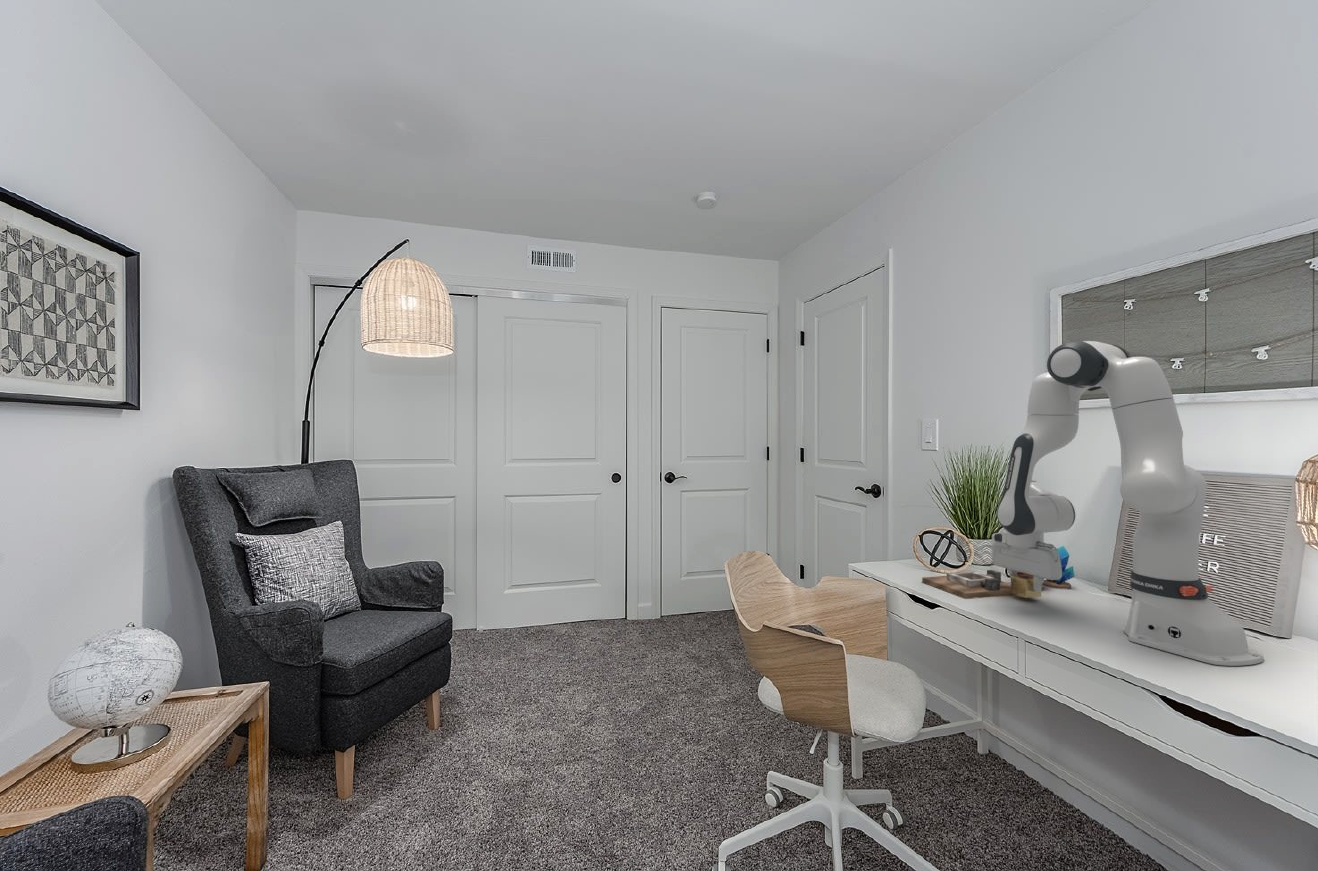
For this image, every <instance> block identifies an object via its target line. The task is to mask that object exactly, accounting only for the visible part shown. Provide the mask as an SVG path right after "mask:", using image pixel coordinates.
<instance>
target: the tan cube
mask: <svg viewBox="0 0 1318 871" xmlns="http://www.w3.org/2000/svg"><path fill="white" fill-rule="evenodd" d="M1034 582H1035V580H1034V576H1031V575H1027V574H1022V575H1011V577H1010V584H1011V593H1012V594H1015V596H1016V595H1017V596H1018V597H1022V598H1025V599H1027V598H1041V597H1042V591H1041V592H1037V593H1036V592H1033V591H1031V585H1033V584H1034Z"/></svg>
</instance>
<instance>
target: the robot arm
mask: <svg viewBox="0 0 1318 871" xmlns="http://www.w3.org/2000/svg"><path fill="white" fill-rule="evenodd" d="M1046 369H1047V372H1043V373H1040V374H1039V375H1038V376H1036V377H1035V378H1034V379H1033V381H1032V383H1031V388H1030V391H1029V396H1028V403H1027V412H1026V413H1027V414H1026V415H1027V416H1026V423H1025V426H1024V428H1023V431H1022V433H1021V434H1020V435H1019V436H1018V437H1016V439H1015V441H1014V442H1013V445H1012V449H1011V451H1010V456H1009V463H1008V468H1007V472H1006V477H1005V481H1004V487H1003V491H1002V495H1001V498H1000V501H999V503H998V506H997V509H996V518H997V522H998V523H999V524H1000V526H1001V527H1002V528H1003V529H1004V530H1003V531H1001V532H996V533H995V532H994V533H993V534H992V535H991V539H992V541H993V542H992V546H991V561H992V563H993V565H994V566H996V567H1000V568H1004V569H1007V573H1008V575H1009V577H1010V578H1011V575H1017V573H1018V572H1022V573H1025V574H1029V575H1033V576H1034V580H1035V582H1034V584H1033V585H1031V591H1033V592H1036V593H1037V592H1041V593H1042V586H1043V584H1042V583H1043V582H1044V580H1046V579H1048V580H1058V579H1060V578H1061V577H1062V567H1061V561H1060V557H1059V551H1058V550H1057V548H1058V547H1056V546H1055V545H1054V544H1052V543H1046V542H1045V539H1044V534H1045V533H1057V532H1059V533H1060V532H1063V531H1064V532H1065V531H1068V530H1070V529H1071V527H1073V525H1074V524H1075V521H1076V509H1075V506H1074V505H1073V503H1072V502H1071V501H1070V500H1069V499H1068V498H1067V497H1065V496H1062V495H1058V494H1057V493H1056V494H1055V493H1054V492H1052V491H1050V490H1047V489H1046V488H1044V487H1043V485H1042V483H1040V482H1039V481H1037V480H1032V479H1033V473H1034V471H1035V470H1034V469H1035V466H1036V464H1037V463H1038V462H1039V461H1040V460H1041V459H1043V458H1044V457H1045V456H1047V455H1049V454H1050V453H1053V452H1056V451H1058V450H1060V449H1062V448H1064V447H1066V446H1068V445H1069V444H1070V443H1071V442H1072V441H1073V440H1074V439H1075V438H1076V436H1077V433H1078V429H1079V424H1080V423H1079V420H1080V419H1079V417H1080V416H1079V414H1080V400H1081V396H1082V395H1083V394H1084V393H1085V392H1086V391H1089V392H1094V391H1096V390H1101V389H1103V390H1104V391H1105V392H1106V394H1107V396H1108V399H1109V403H1110V407H1111V412H1112V416H1113V420H1114V423H1115V427H1116V431H1117V435H1118V439H1119V444H1120V464H1121V465H1120V466H1121V484H1120V488H1119V490H1120V491H1119V492H1120V495H1121V498H1122V500H1123V501H1124V502H1125V504H1126V505H1128V507H1130V508H1131V509H1133V510H1135V511H1137V512H1139V516H1138V520H1137V523H1136V524H1137V525H1136V528H1135V531H1134V534H1133V535H1132V570H1131V571H1130V582H1129V583H1130V584H1129V586H1130V589H1131V603H1130V608H1129V613H1128V618H1127V620H1126V625H1125V627H1124V629H1123V632H1124V634H1126V635H1127V636H1128V641H1130V642H1132V643H1136V644H1138V645H1143V646H1147V647H1151V648H1153V649H1156V650H1160V651H1164V652H1166V653H1167V652H1168V653H1172V654H1175V655H1178V656H1181V657H1186V658H1187V659H1188V658H1189V659H1192V660H1197V661H1200V662H1204V663H1207V664H1209V665H1210V664H1211V665H1216V666H1230V667H1231V666H1232V667H1233V666H1234V667H1236V666H1237V667H1238V666H1240V667H1241V666H1249V665H1256V664H1260V663H1263V662H1264V660H1265V659H1264V654H1263V653H1261V652H1258V651H1256V650H1254V649H1250V648H1249V646H1248V639H1247V636H1246V632H1245V629H1244V627H1243V626H1242V624H1241V623H1240V622H1238V621H1236V620H1235V618H1233V617H1231V616H1230V615H1229V614H1227V612H1225V611H1224V610H1223V609H1221V607H1219V605H1217V604H1215V603H1214V602H1213V601H1212V600H1211V599H1209V593H1208V592H1214V590H1213V589H1212V588H1214V585H1205V584H1204V583H1203V581H1202V579H1201V578H1200V577H1199V576H1200V575H1199V574H1200V573H1199V572H1200V571H1199V570H1200V566H1199V565H1200V563H1199V562H1200V561H1199V560H1200V557H1199V556H1200V554H1199V553H1200V552H1199V550H1200V548H1199V547H1200V537H1201V531H1202V526H1203V520H1204V514H1205V504H1206V496H1207V492H1208V483H1207V481H1206V479H1205V477H1204V475H1202V474H1201V473H1200V471H1197V469H1195V468H1193V467H1191V466H1189V465H1187V464H1184V454H1183V453H1184V452H1183V450H1184V449H1183V437H1184V431H1183V428H1182V424H1181V420H1180V415H1179V413H1178V410H1177V406H1176V401H1175V399H1174V396H1173V392H1172V389H1171V386H1170V384H1169V381H1168V380H1167V377H1166V376H1165V373H1164V371H1163V369H1162V368H1161V366H1160V364H1159V363H1158V361H1157V360H1155V359H1153V358H1150V357H1146V356H1131V354H1130V353H1129V351H1127V350H1126V349H1125V348H1123V347H1121V346H1119V345H1117V344H1114V343H1104V342H1102V341H1101V342H1100V341H1095V340H1094V341H1093V340H1083V341H1082V340H1081V341H1080V340H1074V341H1068V342H1066V343H1065V342H1064V343H1063V344H1060V345H1059V346H1057V347H1055V348H1054V349H1053V350H1052V351H1051V352H1050V354H1049V355H1048V358H1047V362H1046Z"/></svg>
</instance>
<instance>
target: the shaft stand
mask: <svg viewBox="0 0 1318 871" xmlns="http://www.w3.org/2000/svg"><path fill="white" fill-rule="evenodd" d="M921 582H922V583H923V584H926V585H929V586H931V587H934V588H936V589H939V590H941V589H942V590H941V591H944V592H947V593H950V594H952V595H955V596H958V597H960V598H963V599H965V598H967V599H974V598H973V597H979V598H987V597H1000V596H1001V597H1002V596H1014V595H1015V594H1012V593H1011V583H1009V582H1005V581H1002V572H1001V571H998V570H993V569H987V570H986V574H983V573H980V572H976V571H962V572H946V575H939V576H925V577H924V576H923V577H921ZM1015 596H1016V595H1015Z"/></svg>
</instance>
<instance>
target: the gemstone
mask: <svg viewBox="0 0 1318 871" xmlns="http://www.w3.org/2000/svg"><path fill="white" fill-rule="evenodd" d="M1056 548H1057V550H1058V551H1059V557H1060V561H1061V567H1062V577H1061V578H1060V579H1058V580H1048V579H1044V582H1043V583H1042V586H1045V587H1048V588H1052V589H1058V588H1069V589H1071V588H1072V584H1071V583H1070V582H1068V581H1069V580H1071V579H1073V578H1075V572H1074V566H1073V565H1072V566H1069V567H1068V568H1067V566H1068V563H1069V558H1070V553H1069V552H1068V550H1067V549H1066V548H1065V546H1064V545H1061V546H1059V547H1056Z"/></svg>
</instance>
